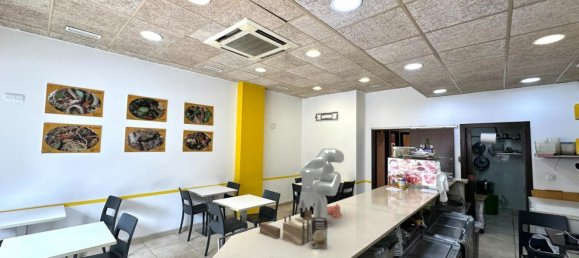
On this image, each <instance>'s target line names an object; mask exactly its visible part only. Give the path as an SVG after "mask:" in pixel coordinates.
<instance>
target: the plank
mask: <svg viewBox="0 0 579 258" xmlns="http://www.w3.org/2000/svg"><path fill="white" fill-rule="evenodd" d="M259 234H261V235H265V236H267V237H269V238H272V239H274V240H275V239H276V240H278V239H281V227H277V226H275V225H271V224H269V223H266V222H261V223H259Z"/></svg>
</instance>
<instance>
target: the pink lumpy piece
mask: <svg viewBox="0 0 579 258" xmlns="http://www.w3.org/2000/svg"><path fill="white" fill-rule="evenodd" d="M328 215H329V216H330V215H332V216H333V218H336V219H337V218H342V213H341V206H340V205H339V204H338V203H336V205H333V206H331V205H330V206H329V205H327V216H328Z"/></svg>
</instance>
